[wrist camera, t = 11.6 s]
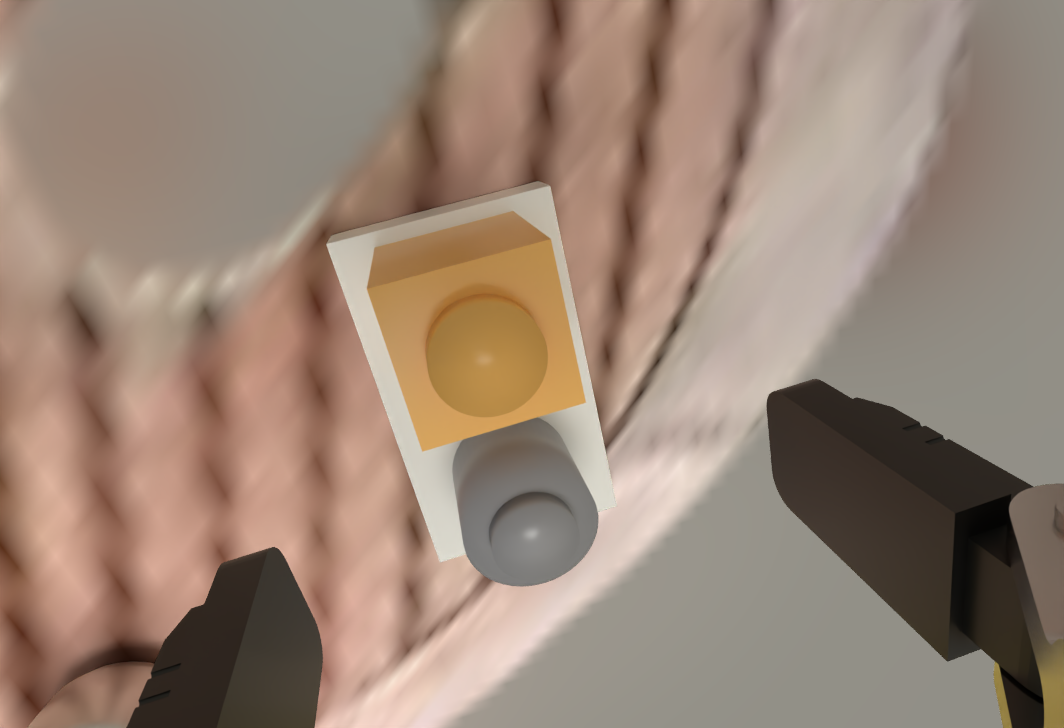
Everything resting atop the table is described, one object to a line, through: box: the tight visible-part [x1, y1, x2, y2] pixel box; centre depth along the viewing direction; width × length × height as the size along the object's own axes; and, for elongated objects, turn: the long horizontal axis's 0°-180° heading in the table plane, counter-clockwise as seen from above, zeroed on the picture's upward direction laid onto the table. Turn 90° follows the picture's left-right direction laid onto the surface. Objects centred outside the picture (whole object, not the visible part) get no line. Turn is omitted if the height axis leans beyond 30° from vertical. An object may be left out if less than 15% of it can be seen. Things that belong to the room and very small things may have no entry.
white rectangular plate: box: [326, 181, 617, 562], centre depth 25 cm, size 8×14×2 cm, turn 13°
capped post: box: [452, 418, 598, 586], centre depth 23 cm, size 5×5×5 cm
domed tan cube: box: [367, 211, 586, 452], centre depth 20 cm, size 5×5×7 cm
